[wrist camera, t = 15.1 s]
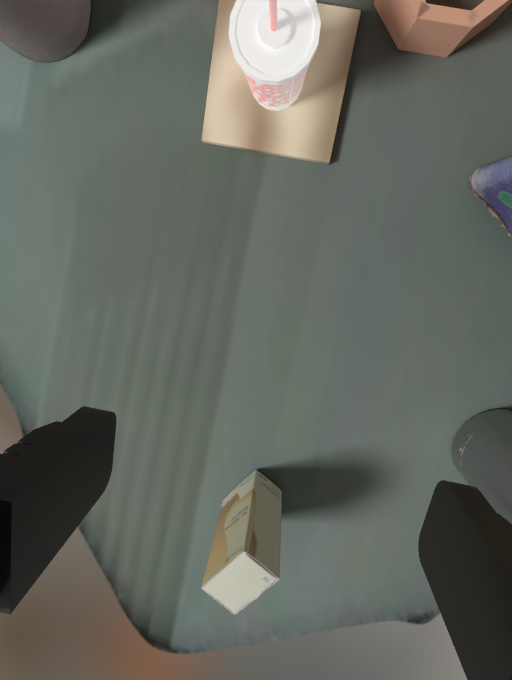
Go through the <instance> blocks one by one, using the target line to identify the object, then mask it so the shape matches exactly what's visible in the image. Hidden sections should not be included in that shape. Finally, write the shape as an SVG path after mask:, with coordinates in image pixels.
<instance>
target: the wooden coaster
mask: <svg viewBox="0 0 512 680" xmlns="http://www.w3.org/2000/svg"><path fill="white" fill-rule="evenodd" d="M235 2H236V0H219V6H218V14H217V22H216V30H215V38H214V46H213V54H212V62H211V70H210V78H209V86H208V94H207V102H206V110H205V118H204V126H203V134H202V141H203V143H209V144H215V145H220V146H226V147H232V148H238V149H243V150H249V151H255V152H260V153H266V154H272V155H277V156H283V157H289V158H294V159H300V160H306V161H312V162H317V163H323V164H329V163H330V158H331V153H332V149H333V144H334V139H335V134H336V129H337V124H338V120H339V115H340V110H341V105H342V100H343V95H344V91H345V86H346V81H347V76H348V71H349V66H350V62H351V57H352V52H353V47H354V42H355V37H356V32H357V28H358V23H359V18H360V13H361V10H357V9H351V8H345V7H339V6H333V5H327V4H321V3H317V7H318V12H319V16H320V21H321V26H320V34H319V42H318V47H317V50H316V52H315V54H314V56H313V58H312V60H311V62H310V64H309V66H308V69H307V72H306V76H305V79H304V82H303V86H302V89H301V92H300V94H299V96H298V98H297V100H296V101H295V102H294V103H292V104H291V105H290V106H289V107H288V108H285V109H282V110H279V111H276V110H268V109H267V108H265V107H263V106H261V105H260V104H259V103H258V101H257V100H256V99H255V97H254V96H253V93H252V91H251V88H250V86H249V83H248V81H247V78H246V76H245V73H244V71H243V70H242V68H241V67H240V66H239V64H238V63H237V62H236V60H235V58H234V54H233V50H232V47H231V43H230V39H229V23H230V14H231V12H232V9H233V7H234V5H235Z"/></svg>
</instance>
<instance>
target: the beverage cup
mask: <svg viewBox="0 0 512 680" xmlns="http://www.w3.org/2000/svg"><path fill="white" fill-rule="evenodd" d="M320 26H321V21H320V16H319V12H318V7H317V3H316V1H315V0H236V2H235V5H234V7H233V9H232V12H231V14H230V23H229V39H230V43H231V47H232V50H233V54H234V58H235V60H236V62H237V63H238V64H239V66H240V67H241V68H242V70H243V71H244V73H245V76H246V78H247V81H248V83H249V86H250V88H251V91H252V93H253V96H254V97H255V99H256V100H257V101H258V103H259V104H260V105H261V106H263V107H265V108H267V109H268V110H276V111H279V110H282V109H285V108H288V107H289V106H290V105H291V104H292V103H294V102H295V101H296V100H297V98H298V96H299V94H300V92H301V89H302V86H303V82H304V79H305V76H306V72H307V69H308V66H309V64H310V62H311V60H312V58H313V56H314V54H315V52H316V50H317V47H318V42H319V34H320Z"/></svg>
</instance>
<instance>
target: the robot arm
mask: <svg viewBox="0 0 512 680" xmlns="http://www.w3.org/2000/svg"><path fill="white" fill-rule="evenodd" d="M115 430H116V415H115V413H114V412H110V411H105V410H100V409H95V408H90V407H85V406H84V407H81V408H80V409H79V410H77V411H76V412H75V413H73V414H72V415H71V416H69V417H68V418H67V419H66V420H64V421H63V422H57V421H56V422H53V423H51V424H48V425H45V426H43V427H40V428H37V429H34V430H33V431H32V432H30V433H29V434H27V435H26V436H25V437H23V438H22V439H20V440H19V441H18V443H17V444H14V445H12V446H11V447H9V448H8V449H6V450H5V451H4V453H3V454H0V612H1V613H6V614H11V613H12V611H13V610H14V609H15V608H16V606H17V605H18V603H19V602H20V601H21V600H22V598H23V597H24V596H25V594H26V593H27V592H28V591H29V589H30V588H31V587H32V585H33V584H34V583H35V581H36V580H37V579H38V577H39V576H40V575H41V573H42V572H43V571H44V570H45V568H46V567H47V566H48V564H49V563H50V561H51V560H52V559H53V558H54V557H55V555H56V554H57V552H58V551H59V550H60V549H61V547H62V546H63V545H64V543H65V542H66V541H67V539H68V538H69V537H70V536H71V534H72V533H73V532H74V530H75V529H76V528H77V526H78V525H79V524H80V523H81V521H82V520H83V519H84V517H85V516H86V515H87V513H88V512H89V511H90V509H91V508H92V507H93V506H94V504H95V503H96V502H97V500H98V499H99V498H100V496H101V495H102V494H103V492H104V490H105V489H106V487H107V484H108V482H109V479H110V475H111V471H112V464H113V453H114V442H115ZM452 453H453V459H454V463H455V465H456V467H457V468H458V470H459V471H460V473H461V474H462V475H463V477H464V478H465V479H466V481H467V482H468V483H469V485H470V486H469V485H464V484H459V483H454V482H449V481H444V480H442V481H440V482H439V483H438V484H437V486H436V488H435V490H434V493H433V496H432V499H431V502H430V505H429V508H428V511H427V514H426V517H425V520H424V523H423V526H422V529H421V532H420V536H419V545H418V549H419V558H420V562H421V565H422V567H423V570H424V572H425V575H426V577H427V580H428V582H429V585H430V587H431V590H432V592H433V595H434V597H435V600H436V602H437V605H438V607H439V610H440V612H441V615H442V617H443V620H444V622H445V625H446V627H447V630H448V632H449V635H450V637H451V639H452V642H453V645H454V647H455V649H456V652H457V655H458V657H459V659H460V662H461V664H462V667H463V669H464V672H465V674H466V677H467V679H468V680H512V410H507V409H496V410H491V411H486V412H484V413H481V414H478V415H477V416H475V417H473V418H472V419H470V420H469V421H468V422H467V423H465V424H464V425H463V426H462V428H461V429H460V430H459V432H458V433H457V435H456V437H455V439H454V443H453V448H452Z"/></svg>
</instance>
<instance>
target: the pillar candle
mask: <svg viewBox="0 0 512 680" xmlns="http://www.w3.org/2000/svg"><path fill="white" fill-rule="evenodd" d="M90 14H91V0H0V41H1V42H3V43H4V44H5V45H7V46H8V47H10V48H11V49H13V50H14V51H16V52H17V53H19V54H20V55H22V56H24V57H26V58H28V59H30V60H33V61H37V62H55V61H59V60H62V59H64V58H66V57H68V56H69V55H71V54H72V53H73V52H74V51H76V50H77V48H78V47H79V46H80V44H81V43H82V42H83V40H84V39H85V37H86V35H87V32H88V28H89V21H90Z"/></svg>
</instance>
